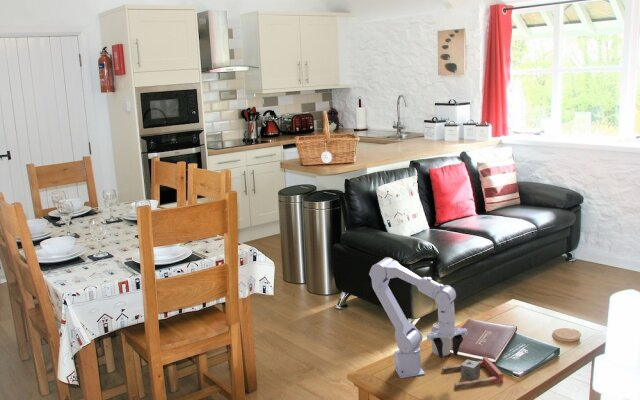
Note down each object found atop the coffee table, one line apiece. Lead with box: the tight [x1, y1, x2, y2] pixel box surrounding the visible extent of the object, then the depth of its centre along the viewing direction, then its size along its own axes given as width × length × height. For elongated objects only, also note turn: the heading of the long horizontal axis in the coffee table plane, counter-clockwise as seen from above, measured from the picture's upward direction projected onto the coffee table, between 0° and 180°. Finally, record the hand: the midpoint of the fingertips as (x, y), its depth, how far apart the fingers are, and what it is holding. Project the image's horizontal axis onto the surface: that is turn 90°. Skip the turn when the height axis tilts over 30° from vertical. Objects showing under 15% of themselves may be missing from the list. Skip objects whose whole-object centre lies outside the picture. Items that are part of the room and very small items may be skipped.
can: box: [430, 321, 452, 357], centre depth 242 cm, size 8×8×12 cm
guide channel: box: [441, 356, 504, 390], centre depth 223 cm, size 18×14×3 cm
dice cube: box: [460, 359, 481, 381], centre depth 223 cm, size 5×5×5 cm
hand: (448, 355), depth 220 cm, fingers open, 5 cm apart
